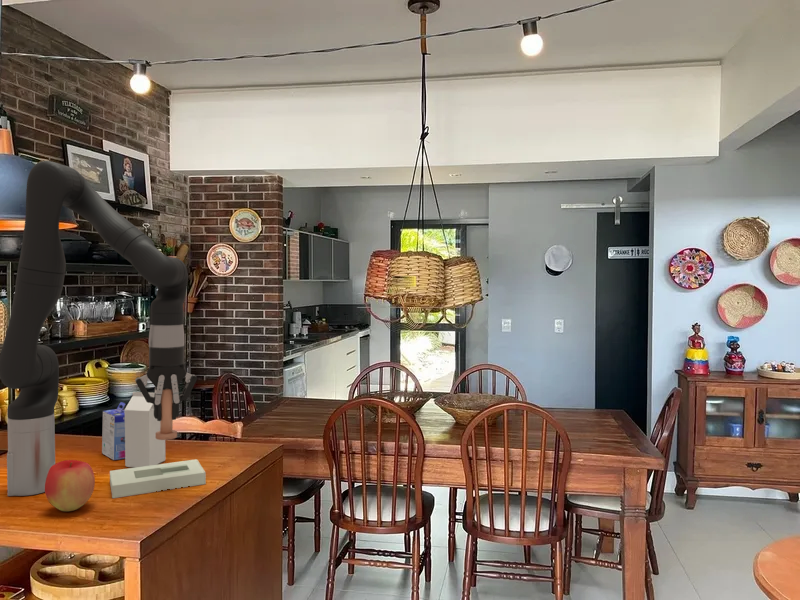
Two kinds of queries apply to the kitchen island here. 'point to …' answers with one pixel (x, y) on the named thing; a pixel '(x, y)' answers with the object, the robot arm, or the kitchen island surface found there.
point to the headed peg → (166, 416)
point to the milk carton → (142, 433)
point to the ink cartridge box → (114, 433)
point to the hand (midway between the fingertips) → (166, 419)
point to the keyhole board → (156, 478)
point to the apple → (69, 484)
